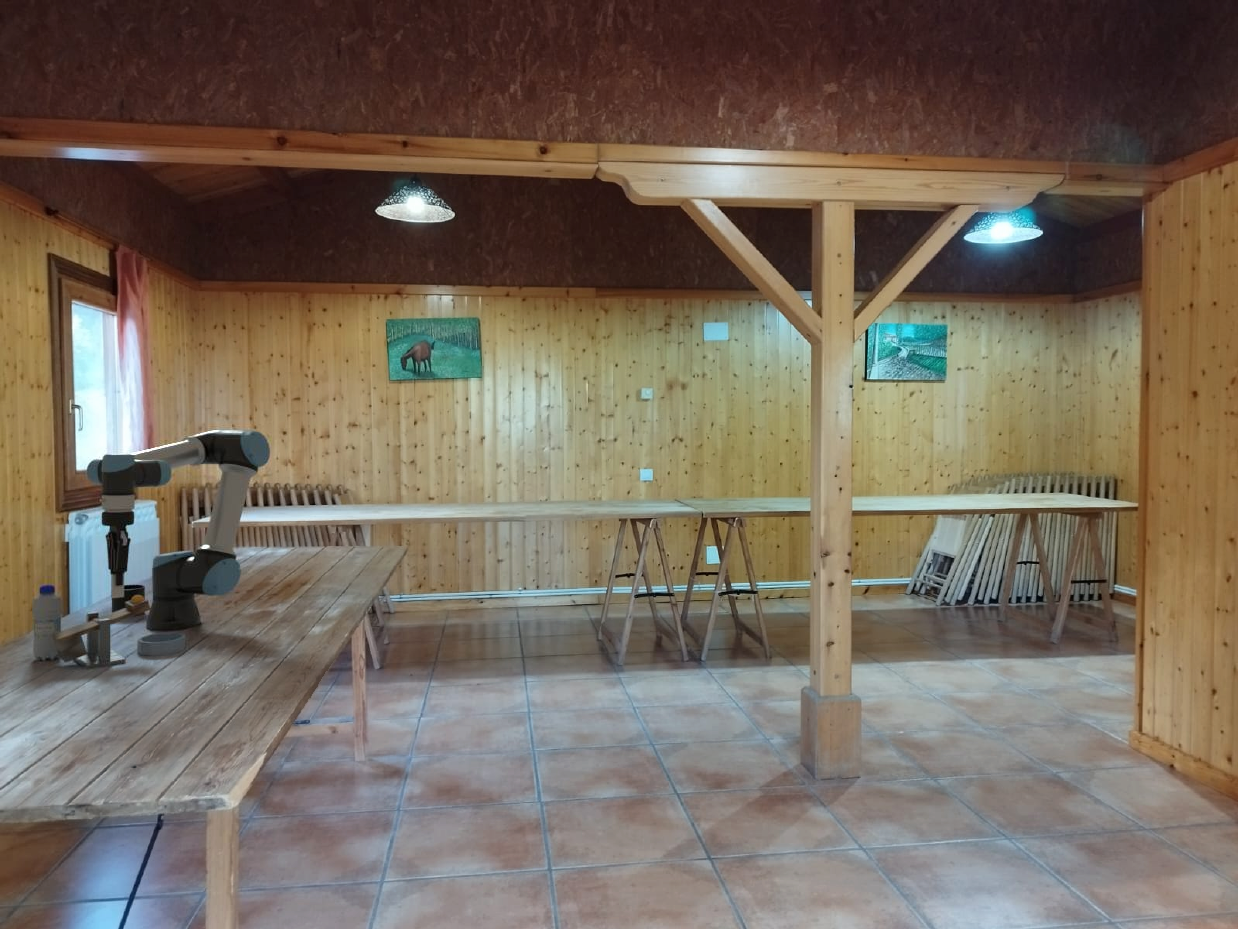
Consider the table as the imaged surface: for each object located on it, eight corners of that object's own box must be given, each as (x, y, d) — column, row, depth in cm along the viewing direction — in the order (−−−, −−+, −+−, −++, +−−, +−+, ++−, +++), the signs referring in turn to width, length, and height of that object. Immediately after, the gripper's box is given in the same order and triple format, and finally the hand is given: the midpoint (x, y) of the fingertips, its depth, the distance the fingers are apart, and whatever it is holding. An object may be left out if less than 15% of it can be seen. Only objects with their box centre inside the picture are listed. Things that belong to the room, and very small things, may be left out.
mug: (150, 608, 278) (150, 582, 278) (140, 616, 266) (140, 589, 266) (119, 610, 275) (119, 583, 275) (107, 618, 264) (107, 590, 263)
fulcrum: (86, 669, 209) (86, 623, 209) (71, 658, 219) (71, 614, 218) (125, 662, 216) (125, 618, 215) (109, 652, 225) (109, 609, 225)
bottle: (27, 662, 214) (27, 587, 213) (38, 655, 220) (38, 582, 219) (57, 661, 215) (56, 587, 215) (66, 654, 222) (66, 582, 221)
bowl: (146, 657, 221) (146, 645, 220) (132, 649, 228) (132, 637, 228) (190, 650, 229) (190, 638, 229) (176, 642, 237) (176, 630, 237)
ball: (141, 603, 226) (136, 592, 225) (148, 602, 225) (144, 592, 224) (131, 608, 223) (126, 598, 222) (138, 608, 222) (134, 598, 221)
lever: (66, 663, 209) (56, 634, 207) (58, 657, 214) (48, 628, 212) (157, 628, 224) (148, 600, 222) (147, 623, 229) (139, 596, 227)
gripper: (95, 509, 221) (94, 595, 222) (109, 513, 212) (109, 602, 213) (126, 508, 226) (125, 592, 227) (141, 511, 217) (140, 599, 218)
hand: (117, 597), depth 220 cm, fingers closed
